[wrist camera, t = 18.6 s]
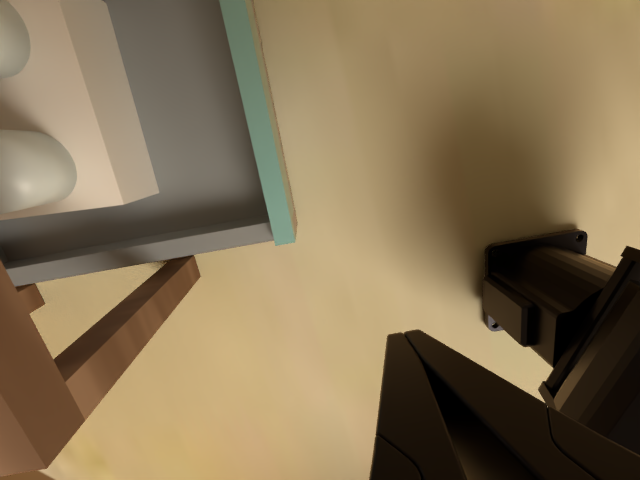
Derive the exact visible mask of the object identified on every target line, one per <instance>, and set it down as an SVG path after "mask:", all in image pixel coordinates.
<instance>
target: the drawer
mask: <svg viewBox="0 0 640 480" xmlns="http://www.w3.org/2000/svg"><path fill="white" fill-rule="evenodd" d="M102 1H104V2H105V3H106V4H107V7H108V11H109V15H110V18H111V22H112V25H113V29H114V32H115V36H116V40H117V43H118V47H119V50H120V54H121V57H122V61H123V65H124V68H125V72H126V75H127V79H128V82H129V86H130V90H131V93H132V97H133V100H134V104H135V107H136V111H137V115H138V118H139V122H140V125H141V129H142V132H143V136H144V139H145V143H146V147H147V150H148V154H149V157H150V161H151V164H152V168H153V172H154V175H155V179H156V182H157V186H158V189H159V193H158V194H155V195H152V196H149V197H146V198H143V199H140V200H136V201H133V202H130V203H127V204H124V205H117V206H109V207H102V208H94V209H86V210H78V211H70V212H62V213H54V214H46V215H39V216H31V217H23V218H15V219H7V220H0V260H1V262H2V264H3V265H4V267H5V269H6V271H7V273H8V275H9V277H10V279H11V281H12V283H13V284H14V286H21V285H26V284H32V283H38V282H43V281H49V280H55V279H60V278H66V277H71V276H77V275H83V274H88V273H94V272H99V271H105V270H111V269H116V268H122V267H127V266H133V265H139V264H144V263H150V262H156V261H161V260H167V259H172V258H178V257H184V256H189V255H195V254H200V253H206V252H212V251H217V250H223V249H229V248H234V247H240V246H245V245H251V244H257V243H262V242H268V241H273V240H274V241H275V246H277V245H283V244H288V243H294V242H295V240H296V232H297V218H296V213H295V208H294V203H293V198H292V193H291V188H290V183H289V178H288V173H287V168H286V163H285V158H284V153H283V148H282V143H281V138H280V133H279V128H278V123H277V118H276V113H275V108H274V103H273V98H272V93H271V88H270V84H269V79H268V74H267V69H266V64H265V59H264V54H263V49H262V44H261V39H260V34H259V29H258V24H257V19H256V14H255V9H254V4H253V0H102Z"/></svg>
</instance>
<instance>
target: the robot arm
mask: <svg viewBox="0 0 640 480" xmlns="http://www.w3.org/2000/svg"><path fill="white" fill-rule="evenodd" d="M577 236H578V238H577V239H576V237H577ZM586 246H587V233H586V232H584V231H582V230H579V229H574V230H568V231H562V232H557V233H551V234H545V235H540V236H534V237H529V238H523V239H517V240H512V241H506V242H500V243H495V244H491V245H489V246H487V247H486V249H485V276H484V278H483V310H484V311H485V325H486V326H487V327H488V328H489V329H490V330H491V331H500V330H505V331H506V332H507V333H508V334H509V335H510V336H511V337H512V338H513V339H515V340H516V341H517V342H518V343H519V344H520V345H522V346H523V347H531V348H532V349H533V350H534V351H535V352H536V353H537V354H538V355H539V356H541V357H542V358H543V359H544V360H545V361H546V362H547V363H548V364H549V365H550V366H552V367H553V368H554V369H553V370H552V372H551V374H550V375H549V377H548V378H547V380H546V381H543V382H542V384H541V385H540V387H539V389H538V390H539V392H540V394H541V396H542V397H543V399H544V401H545V403H544V402H542V401H541V400H539V399H537V398H535V397H534V396H532V395H530V394H529V393H527V392H525V391H523V390H522V389H520V388H518V387H517V386H515V385H513V384H511V383H510V382H508V381H506V380H505V379H503V378H501V377H499V376H498V375H496V374H494V373H493V372H491V371H489V370H488V369H486V368H484V367H482V366H481V365H479V364H477V363H476V362H474V361H472V360H470V359H469V358H467V357H465V356H464V355H462V354H460V353H458V352H457V351H455V350H453V349H452V348H450V347H448V346H446V345H445V344H443V343H441V342H440V341H438V340H436V339H434V338H433V337H431V336H429V335H428V334H426V333H424V332H423V331H421V330H411V331H406V332H404V334H403V333H394V334H389V335H388V336H387V343H386V351H385V360H384V368H383V377H382V385H381V394H380V402H379V411H378V419H377V428H376V437H375V443H374V451H373V458H372V464H371V471H370V477H369V480H640V250H639V249H635V248H632V247H629V246H626V248H625V249H624V251H623V253H622V254H621V256H622V257H623V258H622V259H621V261H620V263H619V264H618V266H617V267H615V266H613V265H610V264H608V263H605V262H603V261H600V260H598V259H595V258H593V257H590V256H588V255H586ZM495 249H496V252H495V253H494V254H492V251H493V250H495ZM493 323H495V324H494V325H492V324H493ZM546 404H547V405H546ZM547 406H548V407H547Z"/></svg>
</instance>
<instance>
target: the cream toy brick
mask: <svg viewBox="0 0 640 480" xmlns="http://www.w3.org/2000/svg"><path fill="white" fill-rule="evenodd" d="M158 193H159V189H158V186H157V182H156V179H155V175H154V172H153V168H152V164H151V161H150V157H149V154H148V150H147V147H146V143H145V139H144V136H143V132H142V129H141V125H140V122H139V118H138V115H137V111H136V107H135V104H134V100H133V97H132V93H131V90H130V86H129V82H128V79H127V75H126V72H125V68H124V65H123V61H122V57H121V54H120V50H119V47H118V43H117V40H116V36H115V32H114V29H113V25H112V22H111V18H110V15H109V11H108V7H107V4H106V3H105V2H104V1H102V0H0V220H7V219H15V218H23V217H31V216H39V215H46V214H54V213H62V212H70V211H78V210H86V209H94V208H102V207H109V206H117V205H124V204H127V203H130V202H133V201H136V200H140V199H143V198H146V197H149V196H152V195H155V194H158Z"/></svg>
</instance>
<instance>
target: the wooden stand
mask: <svg viewBox="0 0 640 480" xmlns="http://www.w3.org/2000/svg"><path fill="white" fill-rule="evenodd" d="M200 277H201V276H200V273H199V270H198V267H197V264H196V261H195V257H194V255H193V256H188V257H182V258H176V259H171V260H170V261H169V262H167V263H166V264H165V265H164V266H163V267H162V268H160V269H159V270H158V271H157V272H156V273H155V274H153V275H152V276H151V277H150V278H149V279H147V280H146V281H145V282H144V283H143V284H142V285H140V286H139V287H138V288H137V289H136V290H135V291H133V292H132V293H131V294H130V295H129V296H127V297H126V298H125V299H124V300H123V301H122V302H120V303H119V304H118V305H117V306H116V307H115V308H113V309H112V310H111V311H110V312H109V313H108V314H106V315H105V316H104V317H103V318H102V319H100V320H99V321H98V322H97V323H96V324H95V325H93V326H92V327H91V328H90V329H89V330H88V331H86V332H85V333H84V334H83V335H82V336H80V337H79V338H78V339H77V340H76V341H75V342H73V343H72V344H71V345H70V346H69V347H68V348H66V349H65V350H64V351H63V352H62V353H61V354H59V355H58V356H57V357H56V358H55V359H53V358H52V356H51V354H50V353H49V351H48V349H47V347H46V345H45V343H44V341H43V339H42V337H41V336H40V334H39V332H38V330H37V328H36V326H35V324H34V322H33V320H32V318H31V317H30V315H29V314H30V313H31V312H33V311H34V310H36V309H38V308H39V307H41V306H43V305H44V304H45V303H44V301H43V299H42V297H41V295H40V293H39V291H38V289H37V287H36V285H35V284H30V285H25V286H19V287H15V286H14V284H13V283H12V281H11V279H10V277H9V275H8V273H7V271H6V269H5V267H4V265H3V264H2V262H1V260H0V476H6V475H11V474H17V473H23V472H29V471H35V470H41V469H47V468H48V466H49V465H50V464H51V463H52V461H53V460H54V459H55V458H56V456H57V455H58V454H59V453H60V451H61V450H62V449H63V448H64V446H65V445H66V444H67V443H68V441H69V440H70V439H71V438H72V436H73V435H74V434H75V433H76V431H77V430H78V429H79V428H80V426H81V425H82V424H83V423H84V421H85V420H86V419H87V418H88V416H89V415H90V414H91V413H92V411H93V410H94V409H95V408H96V406H97V405H98V404H99V403H100V401H101V400H102V399H103V398H104V396H105V395H106V394H107V393H108V391H109V390H110V389H111V388H112V386H113V385H114V384H115V383H116V381H117V380H118V379H119V378H120V376H121V375H122V374H123V373H124V371H125V370H126V369H127V368H128V366H129V365H130V364H131V363H132V361H133V360H134V359H135V358H136V356H137V355H138V354H139V353H140V351H141V350H142V349H143V348H144V346H145V345H146V344H147V343H148V341H149V340H150V339H151V338H152V336H153V335H154V334H155V333H156V331H157V330H158V329H159V328H160V326H161V325H162V324H163V323H164V321H165V320H166V319H167V318H168V316H169V315H170V314H171V313H172V311H173V310H174V309H175V308H176V306H177V305H178V304H179V303H180V301H181V300H182V299H183V298H184V296H185V295H186V294H187V293H188V292H189V290H190V289H191V288H192V287H193V285H194V284H195V283H196V282H197V280H198V279H199V278H200Z"/></svg>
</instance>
